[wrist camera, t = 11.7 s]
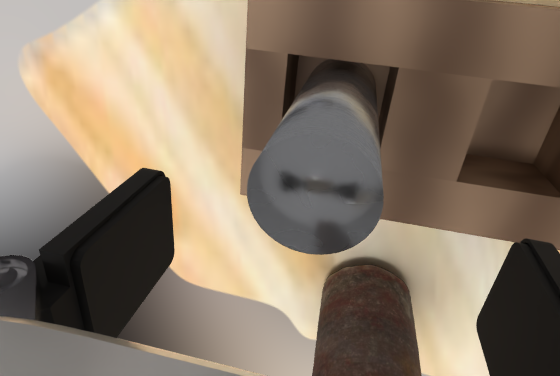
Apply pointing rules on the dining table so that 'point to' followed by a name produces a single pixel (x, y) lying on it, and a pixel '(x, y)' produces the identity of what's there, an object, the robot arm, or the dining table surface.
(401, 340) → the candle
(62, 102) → the dining table surface
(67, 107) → the dining table surface
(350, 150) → the pin
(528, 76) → the hole block
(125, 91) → the dining table surface
